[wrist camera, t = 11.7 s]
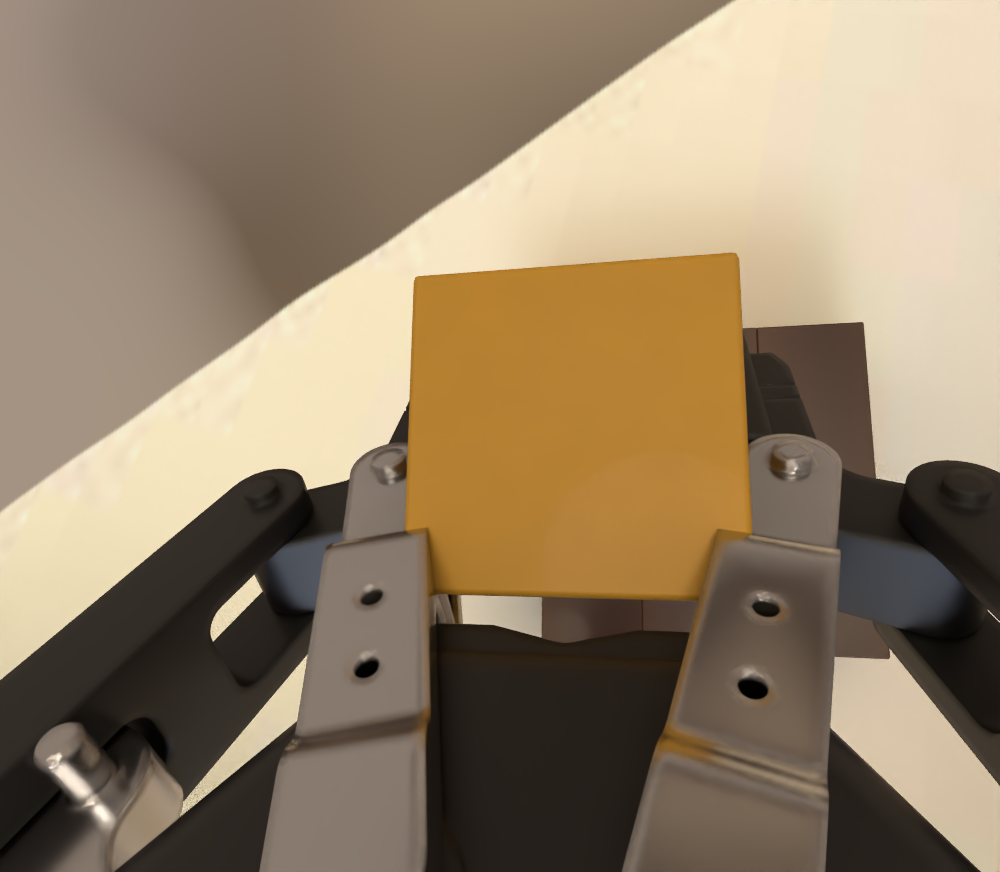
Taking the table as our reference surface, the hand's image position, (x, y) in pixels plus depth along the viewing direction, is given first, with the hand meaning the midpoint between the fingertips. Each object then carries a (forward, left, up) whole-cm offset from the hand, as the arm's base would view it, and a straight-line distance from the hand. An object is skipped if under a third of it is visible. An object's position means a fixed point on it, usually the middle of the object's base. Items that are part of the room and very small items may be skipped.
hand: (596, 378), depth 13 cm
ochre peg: (0, -2, -5) cm, 5 cm away
